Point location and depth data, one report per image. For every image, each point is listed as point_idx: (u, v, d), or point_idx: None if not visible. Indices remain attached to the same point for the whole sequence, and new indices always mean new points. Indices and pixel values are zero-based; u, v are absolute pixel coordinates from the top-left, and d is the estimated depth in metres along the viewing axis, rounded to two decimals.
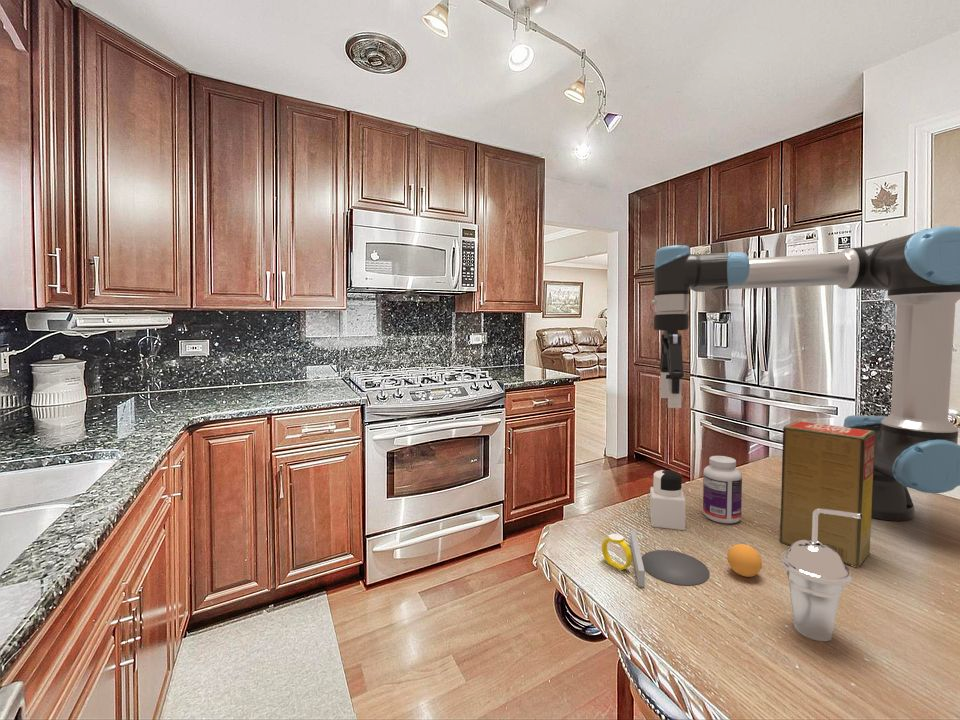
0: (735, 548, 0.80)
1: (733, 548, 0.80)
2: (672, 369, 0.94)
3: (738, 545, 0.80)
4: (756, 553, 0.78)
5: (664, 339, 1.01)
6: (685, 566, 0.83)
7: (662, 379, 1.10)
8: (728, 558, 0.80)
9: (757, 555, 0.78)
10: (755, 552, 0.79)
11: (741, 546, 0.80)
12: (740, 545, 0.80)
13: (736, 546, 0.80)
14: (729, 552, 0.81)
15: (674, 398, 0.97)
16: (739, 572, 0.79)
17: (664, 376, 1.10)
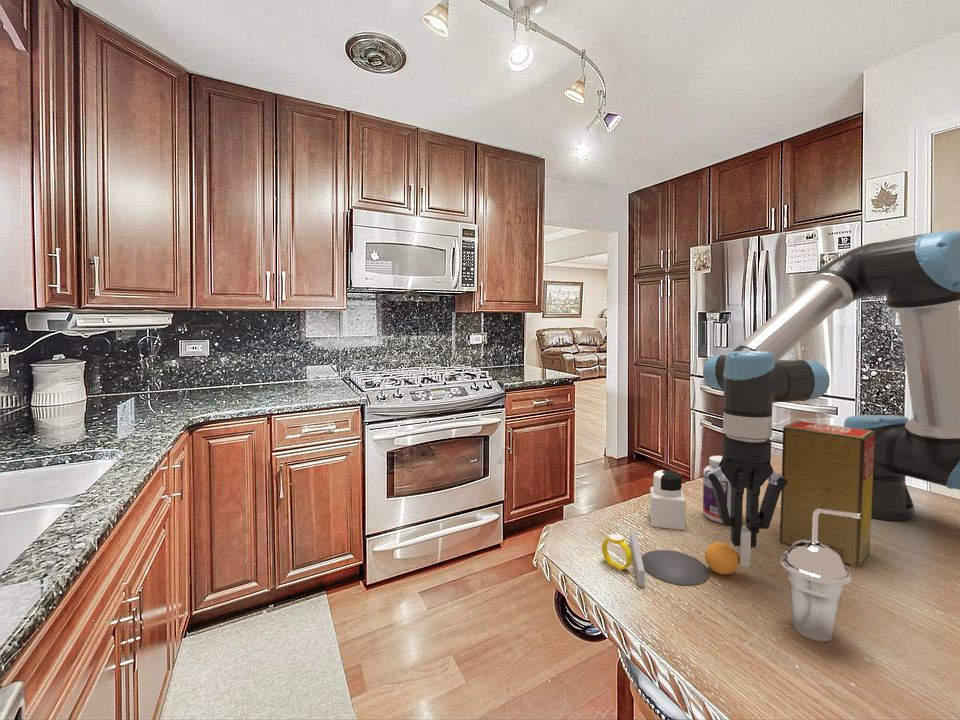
0: (706, 560, 0.81)
1: (706, 561, 0.82)
2: (719, 513, 0.81)
3: (705, 555, 0.82)
4: (716, 548, 0.80)
5: None
6: (685, 566, 0.83)
7: None
8: None
9: (717, 549, 0.80)
10: (714, 548, 0.80)
11: (705, 555, 0.81)
12: (705, 554, 0.82)
13: (705, 558, 0.81)
14: None
15: (738, 550, 0.80)
16: (729, 573, 0.79)
17: None
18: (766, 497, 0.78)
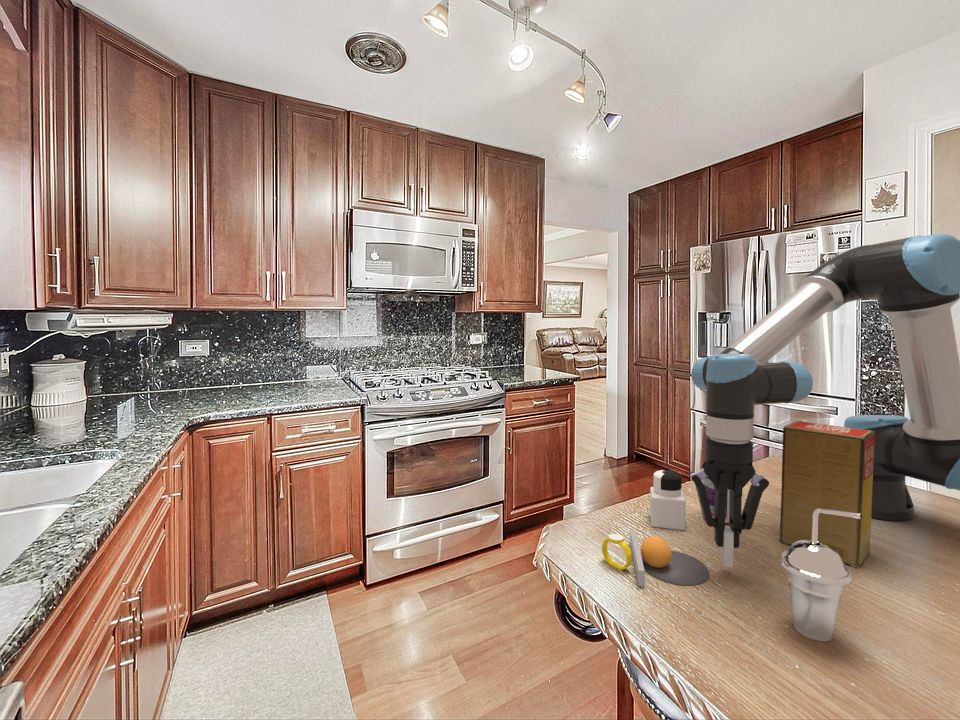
0: (660, 539, 0.83)
1: (658, 538, 0.83)
2: None
3: (663, 540, 0.83)
4: (671, 555, 0.82)
5: None
6: (685, 566, 0.83)
7: None
8: (647, 540, 0.84)
9: (670, 557, 0.82)
10: (671, 554, 0.82)
11: (665, 542, 0.83)
12: (665, 541, 0.83)
13: (661, 539, 0.83)
14: (651, 537, 0.84)
15: (722, 550, 0.81)
16: (646, 555, 0.82)
17: None
18: (749, 498, 0.79)
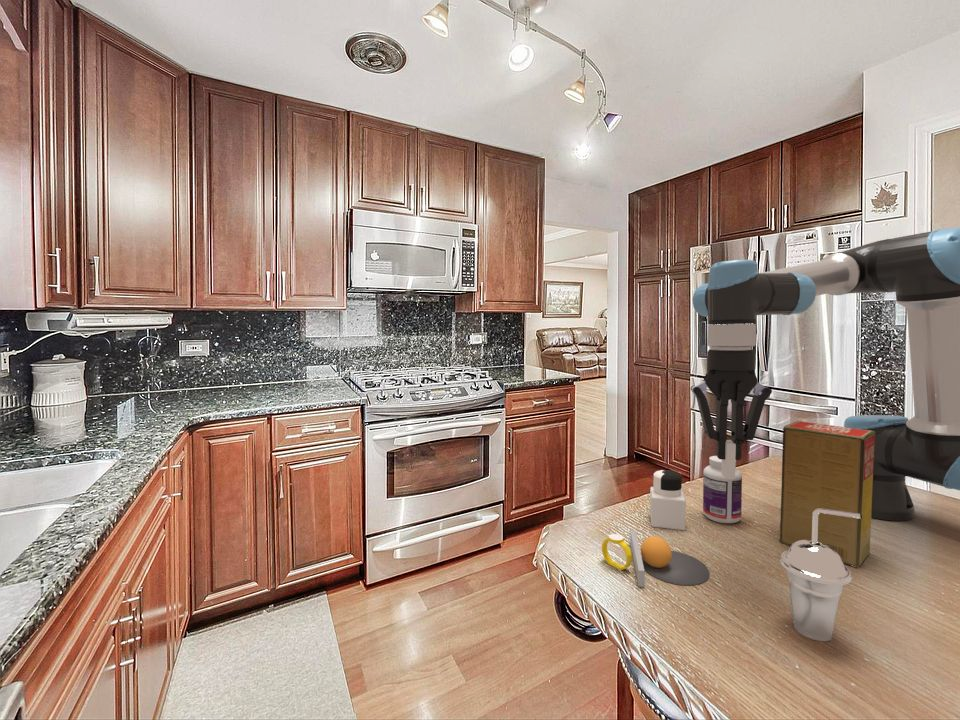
0: (660, 539, 0.83)
1: (658, 538, 0.83)
2: (704, 428, 0.81)
3: (663, 540, 0.83)
4: (671, 556, 0.82)
5: None
6: (685, 566, 0.83)
7: None
8: (647, 540, 0.83)
9: (670, 557, 0.82)
10: (671, 554, 0.82)
11: (665, 542, 0.83)
12: (665, 541, 0.83)
13: (662, 539, 0.83)
14: (651, 537, 0.84)
15: (723, 464, 0.80)
16: (646, 555, 0.82)
17: None
18: (751, 409, 0.78)
